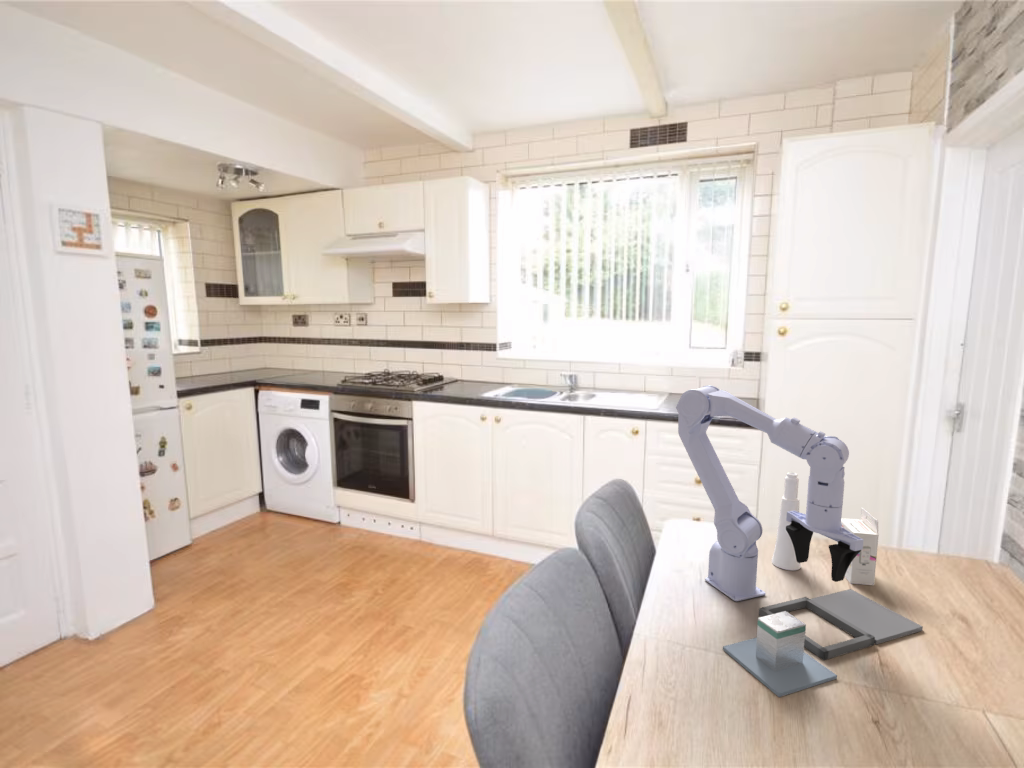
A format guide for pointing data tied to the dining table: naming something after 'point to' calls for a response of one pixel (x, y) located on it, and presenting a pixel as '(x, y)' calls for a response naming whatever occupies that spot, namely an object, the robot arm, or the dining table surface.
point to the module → (780, 640)
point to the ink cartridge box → (866, 558)
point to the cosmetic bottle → (784, 546)
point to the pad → (783, 679)
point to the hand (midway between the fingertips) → (819, 570)
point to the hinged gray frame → (849, 621)
